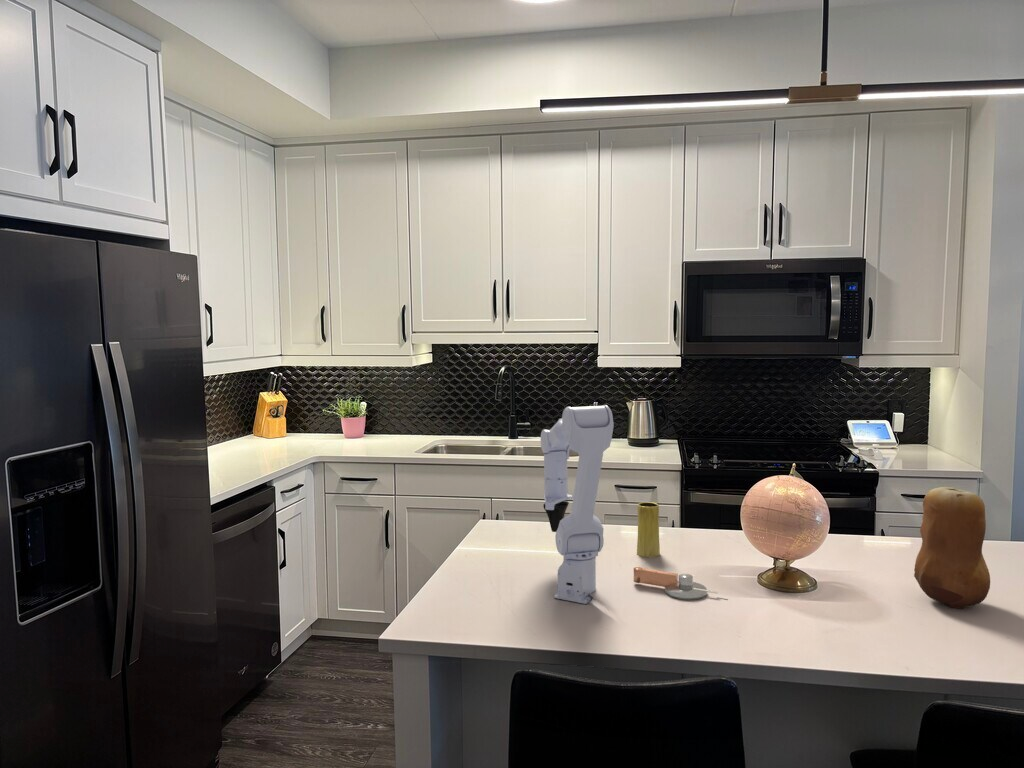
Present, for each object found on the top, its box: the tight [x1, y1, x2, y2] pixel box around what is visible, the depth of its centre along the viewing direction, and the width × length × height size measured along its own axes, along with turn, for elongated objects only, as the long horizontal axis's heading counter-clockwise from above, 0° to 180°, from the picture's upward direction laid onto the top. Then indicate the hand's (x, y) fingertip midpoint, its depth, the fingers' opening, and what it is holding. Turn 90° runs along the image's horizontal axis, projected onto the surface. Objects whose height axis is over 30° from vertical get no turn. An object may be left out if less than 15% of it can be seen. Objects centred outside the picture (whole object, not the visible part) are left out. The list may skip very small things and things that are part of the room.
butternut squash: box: [913, 486, 991, 610], centre depth 155 cm, size 14×13×25 cm
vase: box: [636, 501, 661, 558], centre depth 188 cm, size 6×6×14 cm
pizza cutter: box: [633, 566, 719, 601], centre depth 163 cm, size 19×9×4 cm, turn 61°
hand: (556, 531), depth 182 cm, fingers closed
